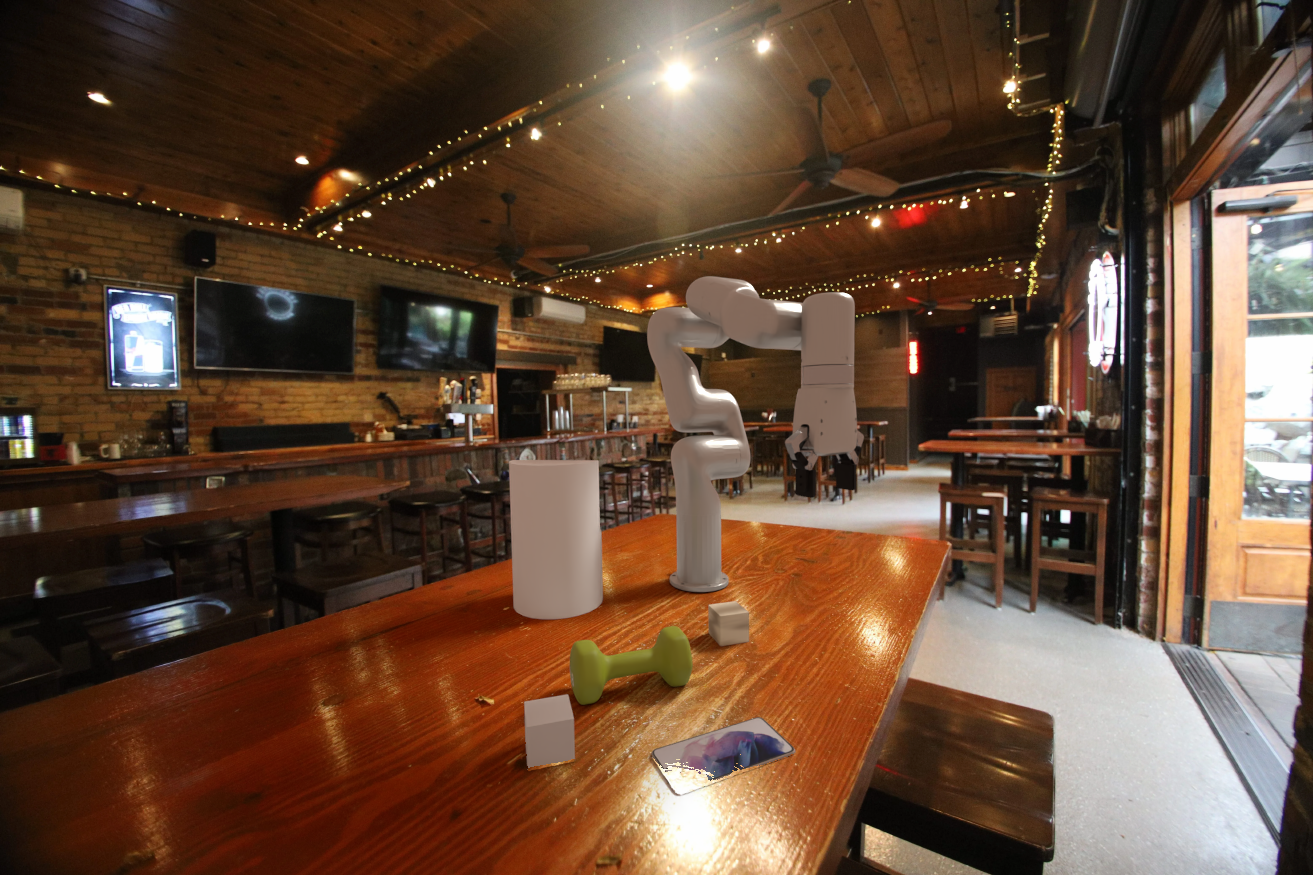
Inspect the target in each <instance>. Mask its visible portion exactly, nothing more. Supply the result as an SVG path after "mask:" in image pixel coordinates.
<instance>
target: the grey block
mask: <svg viewBox="0 0 1313 875" xmlns="http://www.w3.org/2000/svg"><path fill="white" fill-rule="evenodd" d="M523 703H524V704H523V706H524V735H525V736H524V739H525V742H526V744H525V755H526V754H527V756H526V766H528V768H530V767H534V766H540V765H546V764H551V763H558V762H563V761H568V760H571V759H575V760H576V756H575V755H576V751H575V750H576V749H575V748H576V747H575V744H576V742H575V718H574V717H575V716H574V713H573V710H572V709H573V708H572V704H571V701H570V696H569V694H567V693H566V694H561V695H557V696H549V697H544V698H540V699H539V698H538V699H532V700H527V701H524V702H523Z"/></svg>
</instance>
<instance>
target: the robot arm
mask: <svg viewBox="0 0 1313 875" xmlns="http://www.w3.org/2000/svg"><path fill="white" fill-rule="evenodd" d="M685 302H686V305H687V306H686V307H680V306H672V307H664V308H663V307H662V308H660V309H658V310H656V311H655V312H653V313H652V315H651V316H650V318H649V320H648V323H647V332H646V336H647V337H646V338H647V346H648V350H649V354H650V357H651V359H652V361H653V364H654V366H655V369H656V370H657V373H658V376H659V378H660V383H661V386H662V387H661V389H662V393H663V396H664V401H665V405H666V410H667V415H668V418H669V421H670V424H671V427H673V429H674V430H675V431H677V432H680V433H713V435H712V434H709V435H708V434H707V435H692V436H686V437H684V438H681V439H679V440H678V441H677V442H675V443H674V445H673V446H672V448H671V452H670V462H671V469H672V473H673V479H674V486H675V487H674V489H675V513H676V571H674V572H673V573H672V574H670V576H669V583H670V585H671V586H673V587H674V588H675V589H679V590H682V591H686V592H690V593H691V592H692V593H707V592H708V593H709V592H715V591H719V590H722V589H725V588H726V587H727V586H728V585H729V576H728V575H727V574H726V573H725V572H722V506H721V505H722V504H721V503H722V502H721V498H720V495H719V494H718V491H717V490H716V489H715V487H714V485H713V483H712V481H715V480H720V479H721V480H723V479H731V478H738V477H742V476H743V475H744V474H746V472H747V471H748V470H749V468H750V464H751V449H750V445H749V441H748V437H747V434H746V430H745V426H744V421H743V417H742V413H741V411H740V407H739V404H738V401H737V400H736V398H735V397H734V395H732V394H731V393H730V392H729V391H727V390H726V389H722V388H721V389H720V388H719V389H718V388H705V387H704V386H703V385H702V383H701V378H700V375H699V371H698V368H697V366H696V364H695V363H694V362H693V360H692V359H691V358H690V357H689V355H687V354H686V352H685V351H683V350H682V348H694V349H695V348H697V349H698V348H700V349H714V348H718V347H720V346H722V345H723V344H724V343H725V342H727V341H728V340H729V339H731V340H733V341H735V342H737V343H741V344H743V345H745V346H749V347H751V348H755V349H767V350H769V349H772V350H773V349H774V350H788V351H790V350H792V351H800V352H801V353H800V355H801V356H800V360H801V361H800V362H801V363H800V364H801V365H800V367H801V368H800V385H801V386H800V388H798V390H797V394H796V397H795V398H796V399H795V403H794V409H793V410H794V411H793V422H792V434H791V435H789V437H788V438H786V439H785V440H784V444H785V448H786V450H787V453H788V458H789V460H790V462H791V463H792V468H793V469H795V484H794V486H795V488H794V489H795V491H794V492H795V495H796V496H800V497H803V498H804V497H805V498H815V497H816V492H817V490H816V489H817V487H816V484H817V482H816V481H817V480H816V478H817V472H816V471H817V470H816V469H813V468H814V466H815V464H816V463H817V460H818V459H819V457H826V456H836V459H837V460H838V462H836V463H835V465H836V466H835V468H836V469H835V486H836V488H837V489H841V490H848V491H855V490H856V489H857V465H858V464H859V457H860V454H861V452H862V446H863V444H864V443H863V442H864V439H865V436H864V434H863V433H862V432H860V430H858V419H857V417H858V416H857V404H856V397H855V389H854V388H855V325H856V324H855V322H856V321H855V319H856V318H855V317H856V316H855V313H856V312H855V311H856V310H855V309H856V307H855V305H856V303H855V300H854V297H852V295H850V294H848V293H845V292H837V291H835V292H834V291H833V292H821V293H816V294H812V295H809V296H808V297H806V298H805V299H804V300H803V302H797V301H788V300H779V299H768V298H767V299H765V298H760V296H759V294H758V292H757V290H755V288H754V286H753V285H752V284H751V283H750V282H748V281H746V280H744V279H737V278H728V277H720V276H715V275H714V276H713V275H712V276H711V275H710V276H703V277H698V278H697V279H695V280H694V281H693V282H691V283H690V284H689V286H688V288H687V290H686V293H685ZM806 457H807V458H806Z"/></svg>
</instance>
